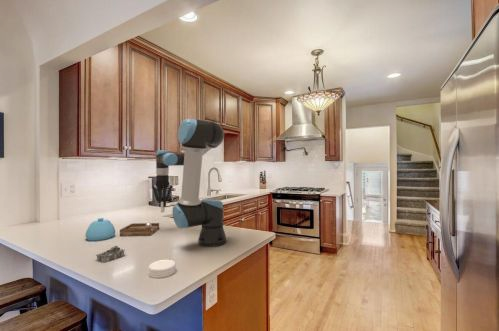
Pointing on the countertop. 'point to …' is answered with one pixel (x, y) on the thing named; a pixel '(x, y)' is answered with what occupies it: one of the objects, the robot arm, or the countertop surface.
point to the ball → (148, 225)
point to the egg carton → (110, 254)
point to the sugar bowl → (100, 230)
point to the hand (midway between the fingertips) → (162, 211)
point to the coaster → (162, 268)
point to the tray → (139, 229)
